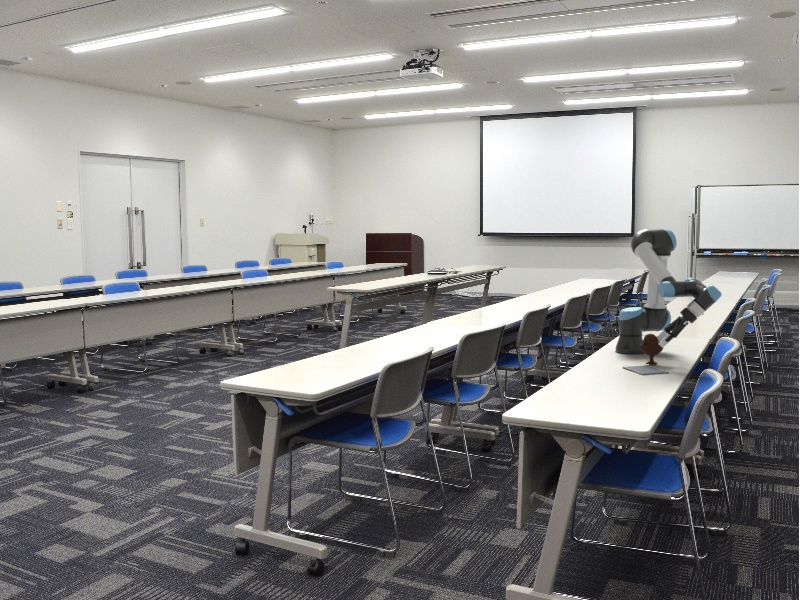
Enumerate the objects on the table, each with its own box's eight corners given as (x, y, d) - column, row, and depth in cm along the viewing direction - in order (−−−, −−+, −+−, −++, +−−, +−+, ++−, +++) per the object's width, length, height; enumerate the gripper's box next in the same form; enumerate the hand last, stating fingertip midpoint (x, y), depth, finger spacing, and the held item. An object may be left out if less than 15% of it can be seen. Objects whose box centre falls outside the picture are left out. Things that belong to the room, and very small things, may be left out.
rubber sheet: (622, 368, 335) (622, 366, 335) (647, 366, 338) (647, 365, 338) (642, 375, 319) (642, 373, 318) (668, 373, 321) (668, 371, 321)
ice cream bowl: (665, 366, 337) (666, 335, 336) (640, 366, 339) (641, 334, 338) (662, 362, 347) (662, 332, 346) (638, 362, 350) (638, 331, 348)
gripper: (703, 321, 324) (668, 353, 328) (692, 314, 348) (659, 345, 353) (691, 309, 324) (656, 342, 329) (681, 304, 349) (648, 334, 353)
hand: (658, 343), depth 341 cm, fingers open, 13 cm apart
